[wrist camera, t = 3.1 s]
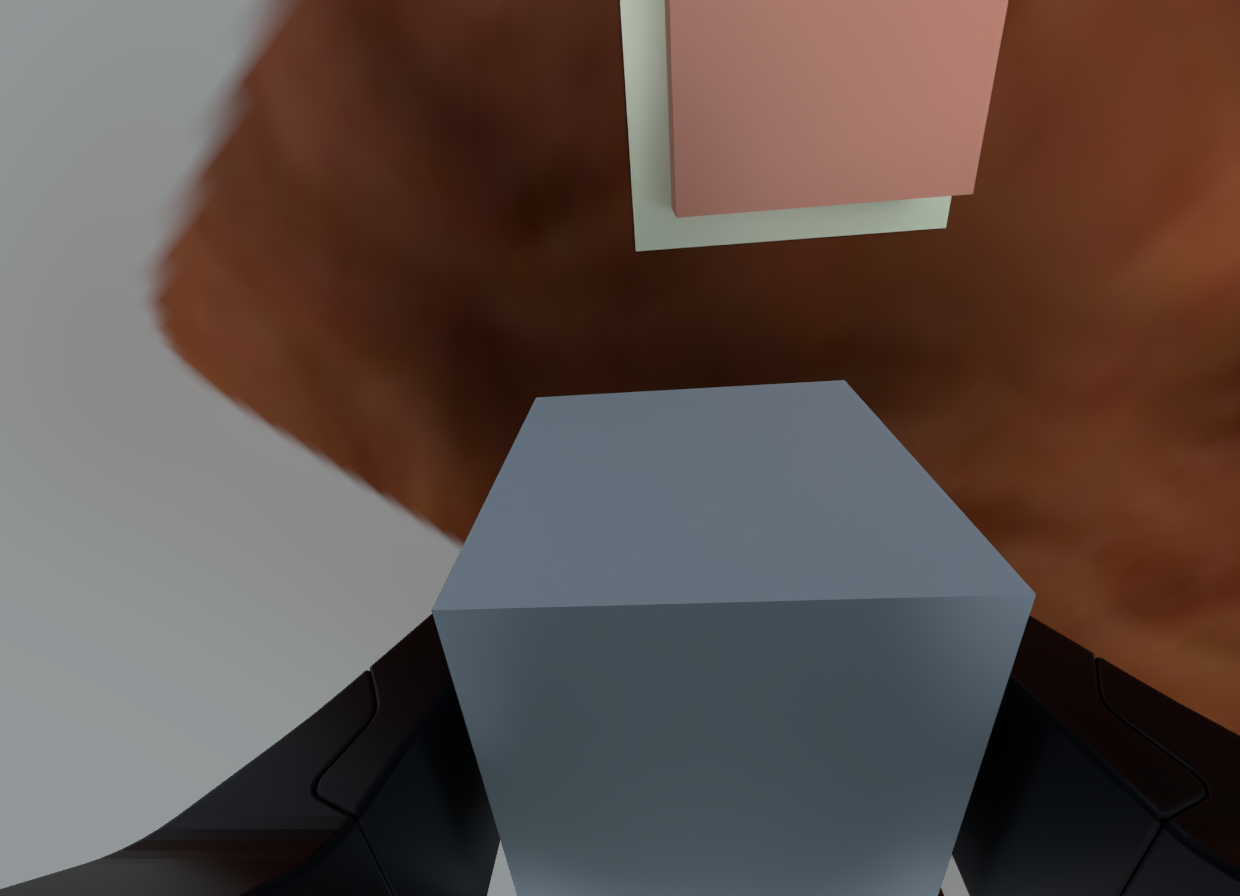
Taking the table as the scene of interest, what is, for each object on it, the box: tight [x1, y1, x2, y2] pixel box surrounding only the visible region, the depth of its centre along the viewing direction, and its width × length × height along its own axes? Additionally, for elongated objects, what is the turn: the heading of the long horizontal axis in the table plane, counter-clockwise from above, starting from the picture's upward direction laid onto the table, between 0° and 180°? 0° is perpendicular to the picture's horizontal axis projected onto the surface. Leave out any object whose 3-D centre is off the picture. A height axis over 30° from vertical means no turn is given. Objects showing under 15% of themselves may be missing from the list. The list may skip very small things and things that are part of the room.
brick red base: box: [664, 0, 1008, 218], centre depth 12 cm, size 6×6×3 cm
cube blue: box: [432, 380, 1036, 896], centre depth 8 cm, size 5×5×5 cm
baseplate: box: [620, 0, 951, 251], centre depth 13 cm, size 8×8×1 cm
